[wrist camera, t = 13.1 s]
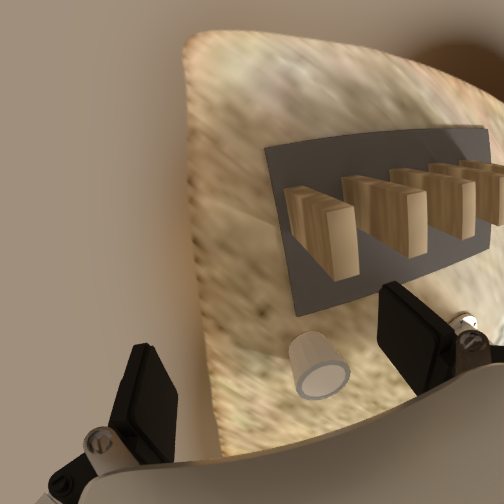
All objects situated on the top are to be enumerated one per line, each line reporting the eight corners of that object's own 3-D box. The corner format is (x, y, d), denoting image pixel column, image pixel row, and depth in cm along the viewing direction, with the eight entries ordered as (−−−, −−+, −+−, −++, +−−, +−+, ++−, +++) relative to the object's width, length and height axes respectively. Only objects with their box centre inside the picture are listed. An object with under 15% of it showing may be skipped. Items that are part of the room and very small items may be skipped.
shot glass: (339, 346, 38) (359, 378, 31) (300, 373, 38) (313, 407, 32) (316, 317, 35) (336, 350, 29) (273, 348, 36) (285, 384, 30)
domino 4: (438, 162, 30) (508, 175, 19) (440, 199, 32) (507, 222, 20) (427, 163, 30) (499, 177, 18) (430, 201, 31) (498, 226, 20)
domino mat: (486, 247, 36) (489, 248, 36) (295, 314, 35) (297, 317, 34) (485, 128, 29) (487, 129, 29) (264, 148, 28) (265, 148, 27)
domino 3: (401, 167, 30) (475, 181, 18) (405, 207, 31) (474, 235, 20) (389, 169, 29) (462, 184, 18) (392, 210, 31) (461, 240, 20)
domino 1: (302, 185, 29) (353, 206, 18) (309, 230, 31) (359, 274, 19) (283, 188, 29) (326, 212, 18) (292, 234, 31) (334, 281, 19)
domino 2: (356, 174, 29) (426, 191, 18) (361, 217, 31) (427, 252, 20) (340, 177, 29) (406, 195, 18) (346, 221, 31) (408, 258, 20)
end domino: (466, 159, 30) (531, 171, 19) (468, 193, 32) (530, 213, 21) (458, 160, 30) (525, 172, 19) (460, 194, 32) (524, 215, 20)
